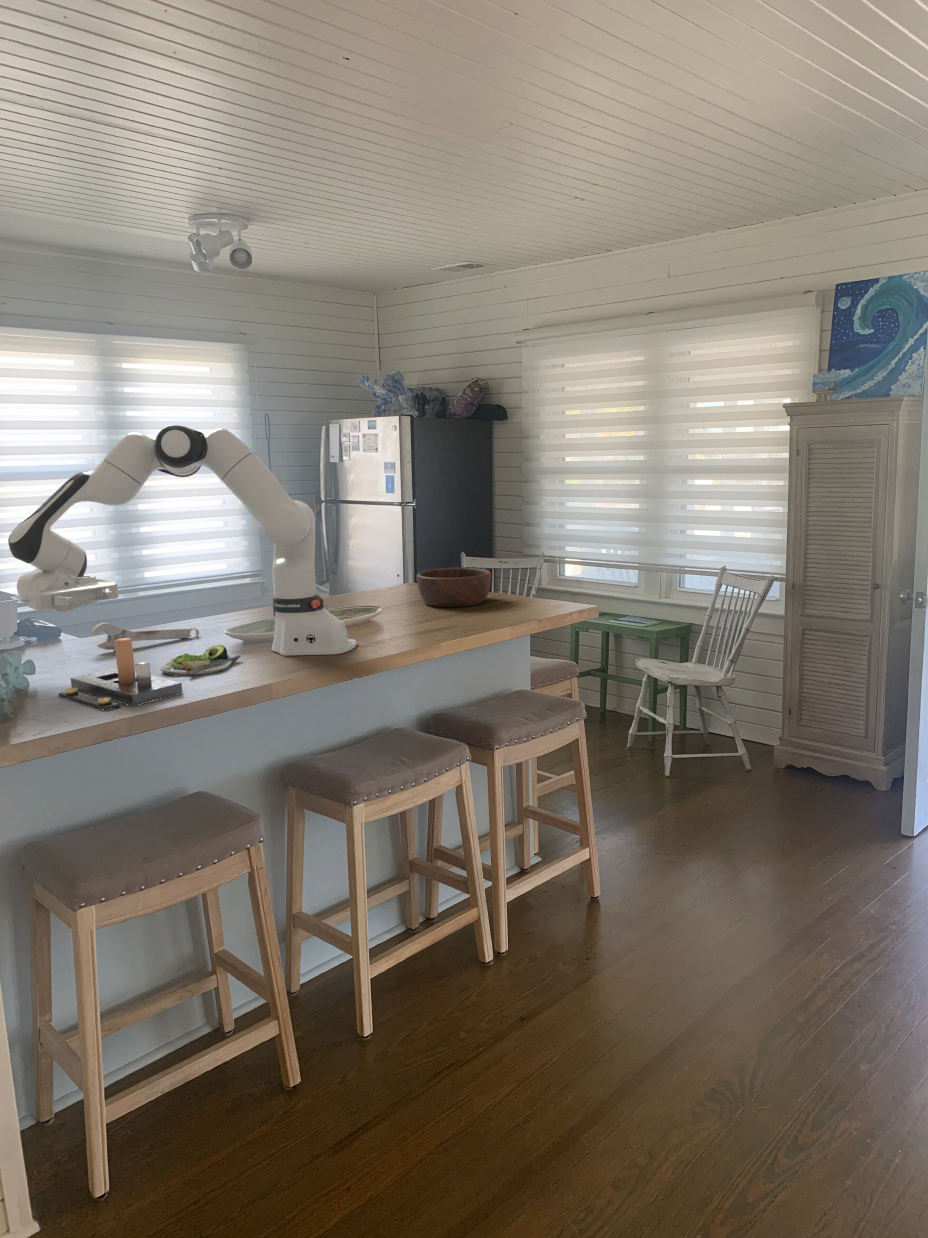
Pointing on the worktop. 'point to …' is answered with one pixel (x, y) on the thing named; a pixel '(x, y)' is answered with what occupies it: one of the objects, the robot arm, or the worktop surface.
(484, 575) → the wooden bowl
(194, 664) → the salad plate
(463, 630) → the worktop surface
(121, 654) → the dowel
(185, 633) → the wrench
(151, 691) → the hole plate
